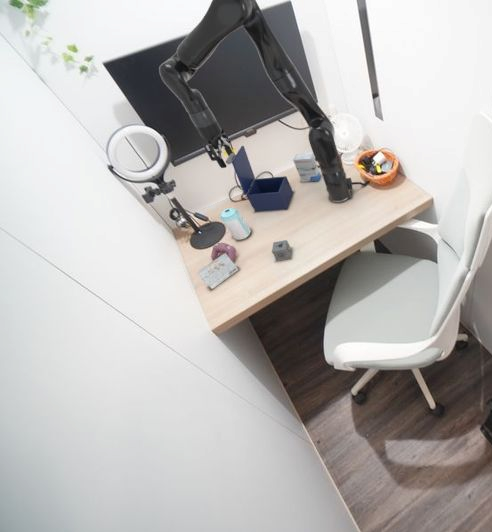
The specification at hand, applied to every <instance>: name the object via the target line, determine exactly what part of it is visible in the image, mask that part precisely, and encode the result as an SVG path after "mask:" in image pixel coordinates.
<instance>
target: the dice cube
mask: <svg viewBox="0 0 492 532" xmlns="http://www.w3.org/2000/svg"><path fill="white" fill-rule="evenodd" d="M271 253H272V255H273V257H274V258H275V260H276V261H278V262H279V261H285V260H291V256H292V247H291V245H290V244H289V242H288V240H287V239H285V240H284V239H283V240H278V241H274V242H272V248H271Z"/></svg>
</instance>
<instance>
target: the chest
mask: <svg viewBox="0 0 492 532" xmlns="http://www.w3.org/2000/svg"><path fill="white" fill-rule="evenodd" d="M293 195H294V191H293V188H292V185H291V184H290V182H289V180H288V176H287V175H286V176H274V177H263V178H255V179H254V181H253V183H252V185H251V187H250V189H249V191H248V193H247V195H245V196H246V198H247V200H248V202H249V203H250V205H251V207H252V209H253V211H254V212H255V213H260V212H272V211H284V210H288V208H289V206H290V203H291V201H292V198H293Z"/></svg>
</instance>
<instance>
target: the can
mask: <svg viewBox="0 0 492 532" xmlns="http://www.w3.org/2000/svg"><path fill="white" fill-rule="evenodd" d="M220 220H221V222H222V223H223V224H224V226H225V227H226V229H227V230H228V231H229V233H230V234H231V236H232V237H233V239H234V240H237V241H238V240H244V239H246V238H247V237H248V236H249V235H250V234H251V228H250V227H249V224H247V222H246V220H245V219H244V217H243V215H242V214H241V212H240V211H239V210H238V209H236V208H235V207H227V208H225V209H223V210H222V212H220Z"/></svg>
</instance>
